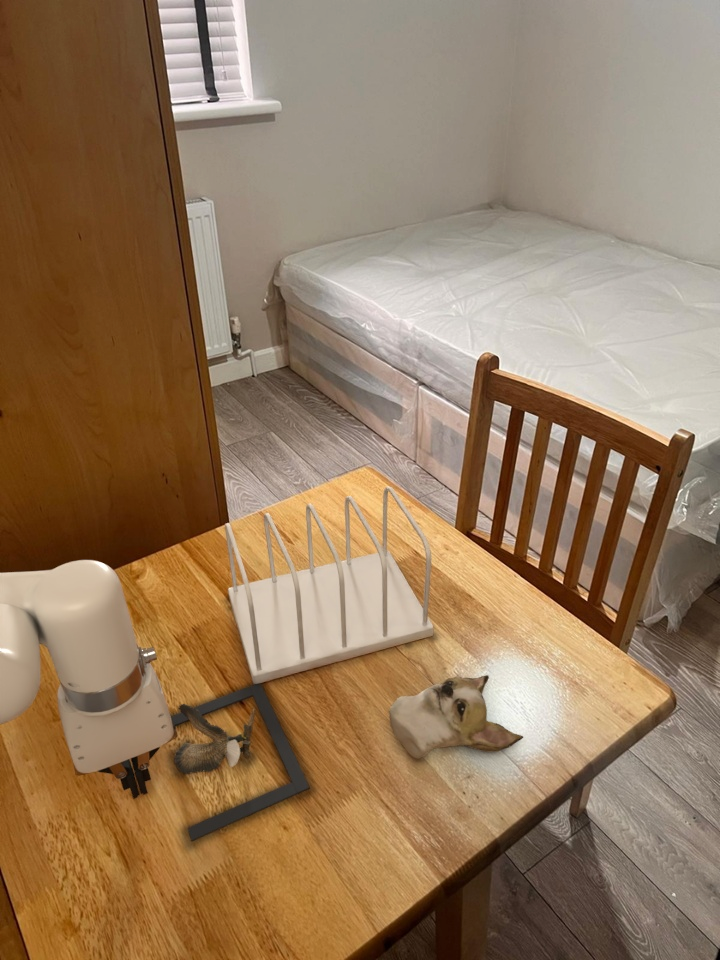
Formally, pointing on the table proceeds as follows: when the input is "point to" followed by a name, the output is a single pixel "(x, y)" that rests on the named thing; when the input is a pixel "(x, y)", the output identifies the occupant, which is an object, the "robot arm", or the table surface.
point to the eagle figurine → (211, 745)
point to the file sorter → (326, 603)
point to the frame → (282, 746)
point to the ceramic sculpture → (448, 719)
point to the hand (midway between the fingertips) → (138, 785)
